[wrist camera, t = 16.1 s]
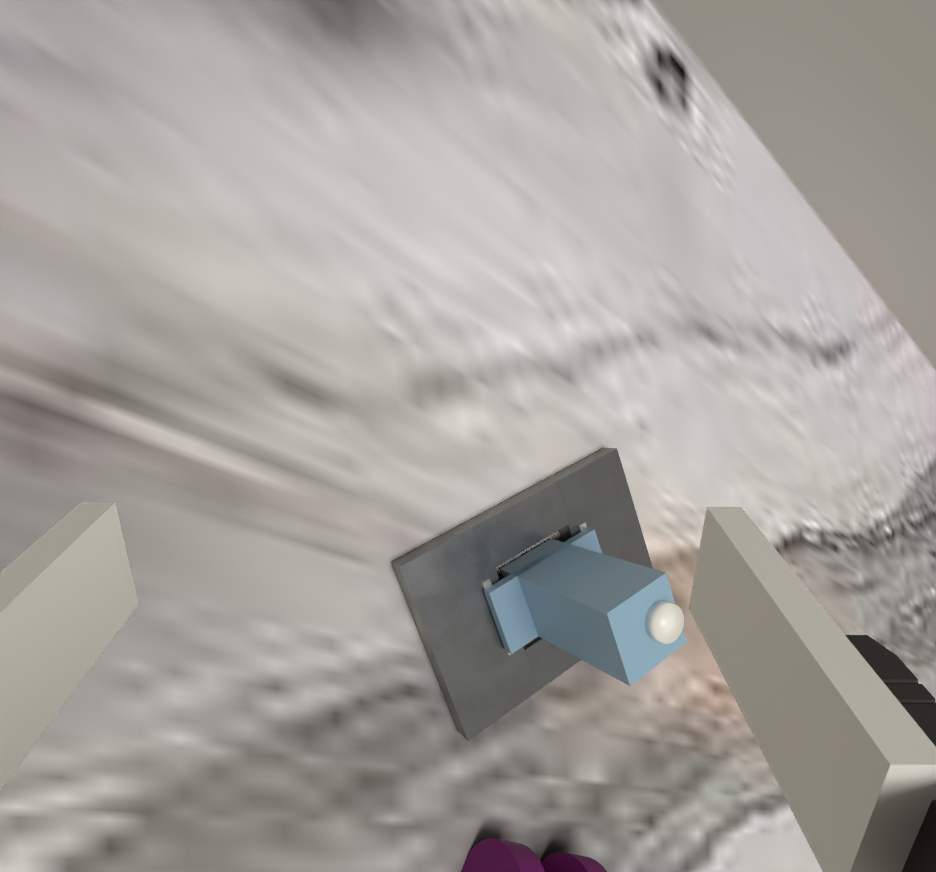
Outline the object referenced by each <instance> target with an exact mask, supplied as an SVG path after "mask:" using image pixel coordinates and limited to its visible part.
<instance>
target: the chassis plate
mask: <svg viewBox="0 0 936 872" xmlns="http://www.w3.org/2000/svg"><path fill="white" fill-rule="evenodd" d="M586 528H591V529H595V532H596V535H597V538H598V542H599V545H600V548H601V551H602V554H605V555H608V556H611V557H615V558H618V559H621V560H625V561H628V562H632V563H635V564H638V565H642V566H645V567H648V568H652V564H651V561H650V557H649V554H648V551H647V547H646V544H645V541H644V537H643V534H642V531H641V527H640V524H639V521H638V517H637V514H636V511H635V507H634V504H633V501H632V497H631V494H630V491H629V487H628V484H627V481H626V477H625V474H624V471H623V467H622V464H621V461H620V457H619V454H618V451H617V449H614V448H602V449H600V450H598V451H597V452H595V453H593V454H591V455H589V456H587V457H585V458H584V459H582V460H580V461H578V462H576V463H574V464H572V465H571V466H569V467H567V468H565V469H563V470H561V471H559V472H558V473H556V474H554V475H552V476H550V477H548V478H546V479H544V480H543V481H541V482H539V483H537V484H535V485H533V486H531V487H530V488H528V489H526V490H524V491H522V492H520V493H518V494H517V495H515V496H513V497H511V498H509V499H507V500H505V501H504V502H502V503H500V504H498V505H496V506H494V507H492V508H490V509H489V510H487V511H485V512H483V513H481V514H479V515H477V516H476V517H474V518H472V519H470V520H468V521H466V522H464V523H463V524H461V525H459V526H457V527H455V528H453V529H451V530H450V531H448V532H446V533H444V534H442V535H440V536H438V537H436V538H435V539H433V540H431V541H429V542H427V543H425V544H423V545H422V546H420V547H418V548H416V549H414V550H412V551H410V552H409V553H407V554H405V555H403V556H401V557H399V558H397V559H396V560H394V561H392V562H391V563H392V566H393V568H394V571H395V574H396V576H397V579H398V581H399V584H400V586H401V589H402V591H403V594H404V596H405V599H406V601H407V604H408V606H409V609H410V611H411V614H412V616H413V619H414V622H415V624H416V627H417V629H418V632H419V634H420V637H421V639H422V642H423V644H424V647H425V649H426V652H427V654H428V657H429V659H430V662H431V664H432V667H433V670H434V672H435V675H436V677H437V680H438V682H439V685H440V687H441V690H442V692H443V695H444V697H445V700H446V702H447V705H448V707H449V710H450V712H451V715H452V718H453V720H454V723H455V725H456V728H457V730H458V732H459V733H461V734H462V735H463V736H464V737H465V738H466V739H467V740H468V741H469V740H470V739H471V738H473V737H474V736H476V735H477V734H478V733H480V732H481V731H483V730H484V729H485V728H487V727H488V726H489V725H491V724H492V723H494V722H495V721H496V720H498V719H499V718H501V717H502V716H503V715H505V714H506V713H508V712H509V711H510V710H512V709H513V708H515V707H516V706H517V705H519V704H520V703H522V702H523V701H524V700H526V699H527V698H529V697H530V696H531V695H533V694H534V693H536V692H537V691H538V690H540V689H541V688H542V687H544V686H545V685H547V684H548V683H549V682H551V681H552V680H554V679H555V678H556V677H558V676H559V675H561V674H562V673H563V672H565V671H566V670H568V669H569V668H570V667H572V666H573V665H575V664H576V663H577V662H579V661H580V660H581V659H580V658H578V657H576V656H574V655H572V654H570V653H568V652H567V651H565V650H563V649H561V648H559V647H557V646H556V645H554V644H552V643H550V642H548V641H546V640H545V639H543V638H541V637H539V636H538V637H537V638H535V639H534V640H532V641H531V642H529V643H528V644H526V645H525V646H523V647H522V648H520V649H519V650H517V651H516V652H514V653H513V654H510V653H508V652H507V651H505V648H504V645H503V642H502V640H501V637H500V634H499V631H498V629H497V626H496V623H495V620H494V618H493V615H492V612H491V610H490V607H489V604H488V601H487V599H486V596H485V593H484V590H485V589H487V588H488V587H490V586H492V585H493V584H495V583H497V582H498V581H500V580H499V577H498V574H497V571H496V569H495V567H496V566H498V565H500V564H501V563H503V562H505V561H506V560H508V559H510V558H511V557H513V556H515V555H517V554H518V553H520V552H522V551H523V550H525V549H527V548H528V547H530V546H532V545H534V544H535V543H537V542H539V541H540V540H542V539H544V538H545V537H547V536H549V535H551V534H552V533H554V532H556V531H557V530H559V532H560V535H561V538H562V541H563V542H565V541H567V540H568V539H570V538H572V537H573V536H575V535H576V534H578V533H580V532H581V531H583V530H585V529H586ZM652 569H653V568H652Z"/></svg>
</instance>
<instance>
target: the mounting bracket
mask: <svg viewBox="0 0 936 872" xmlns="http://www.w3.org/2000/svg"><path fill="white" fill-rule="evenodd" d="M461 872H607V871H606V870H605V868H604V867H603V866H602V865H601V864H599V863H598V862H597V861H595V860H594V859H592V858H589V857H585V856H580V855H575V854H570V853H564V852H557V853H553V854H551V855H549V856H547V857H546V858H545V859H543V860H542V862H540V860H539V859H538V857H537V856H536V855H535V853H534V852H533V851H532V850H531V849H530V848H528V847H527V846H525V845H522V844H519V843H514V842H509V841H504V840H499V839H493V838H489V839H485V840H482V841H480V842H479V843H477V844H476V845H475V846H474V847H473V848H472V849H471V850H470V852H469V853H468V855H467V858H466V861H465V863H464V866H463V868H462V871H461Z"/></svg>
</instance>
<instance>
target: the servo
mask: <svg viewBox="0 0 936 872" xmlns="http://www.w3.org/2000/svg"><path fill="white" fill-rule="evenodd" d="M500 570H501V573H502V576H503V579H502V580H500V581H498V582H497V583H495V584H493V585H492V586H490V587H488V588H487V589H485V590H484V593H485V596H486V599H487V601H488V604H489V607H490V610H491V612H492V615H493V618H494V620H495V623H496V626H497V629H498V631H499V634H500V637H501V640H502V642H503V645H504V648H505V651H507V652H508V653H510V654H513V653H514V652H516V651H517V650H519V649H520V648H522V647H523V646H525V645H526V644H528V643H529V642H531V641H532V640H534V639H535V638H537V637H538V636H539V637H541V638H543V639H545V640H546V641H548V642H550V643H552V644H554V645H556V646H557V647H559V648H561V649H563V650H565V651H567V652H568V653H570V654H572V655H574V656H576V657H578V658H580V659H581V660H583V661H585V662H587V663H589V664H591V665H592V666H594V667H596V668H598V669H600V670H602V671H603V672H605V673H607V674H609V675H611V676H613V677H615V678H616V679H618V680H620V681H622V682H624V683H626V684H627V685H629V686H631V685H632V684H633V683H635V682H636V681H637V680H638V679H640V678H641V677H642V676H644V675H645V674H646V673H648V672H649V671H650V670H651V669H653V668H654V667H655V666H657V665H658V664H659V663H660V662H662V661H663V660H664V659H666V658H667V657H668V656H669V655H671V654H672V653H673V652H675V651H676V650H677V649H679V648H680V647H681V646H682V645H684V644H685V643H686V639H685V636H684V632H683V625H684V616H683V613H682V610H681V609H680V608H679V607H678V606H677V605H675V602H674V598H673V595H672V592H671V588H670V585H669V581H668V578H667V575H666V573H665V572H662V571H659V570H655V569H652V568H648V567H645V566H642V565H638V564H635V563H632V562H628V561H625V560H621V559H618V558H615V557H611V556H608V555H605V554H602V551H601V548H600V545H599V542H598V538H597V535H596V532H595V529H591V528H586V529H585V530H583V531H581V532H580V533H578V534H576V535H575V536H573V537H572V538H570V539H568V540H567V541H565V542H561V541H558V540H554V539H550V540H548V541H546V542H545V543H543V544H541V545H539V546H538V547H536V548H534V549H533V550H531V551H529V552H528V553H526V554H524V555H523V556H521V557H519V558H518V559H516V560H514V561H512V562H511V563H509V564H507V565H506V566H504V567H502V568H501V569H500Z"/></svg>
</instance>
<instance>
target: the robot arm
mask: <svg viewBox="0 0 936 872" xmlns="http://www.w3.org/2000/svg"><path fill="white" fill-rule="evenodd" d="M138 605H139V602H138V598H137V594H136V590H135V585H134V581H133V577H132V572H131V568H130V564H129V559H128V555H127V551H126V546H125V542H124V538H123V534H122V529H121V525H120V521H119V516H118V512H117V508H116V503H115V502H80V503H79V504H78V505H76V506H75V507H74V508H73V509H72V510H71V511H70V512H68V513H67V514H66V515H65V516H64V517H63V518H61V519H60V520H59V521H58V522H57V523H56V524H55V525H53V526H52V527H51V528H50V529H49V530H48V531H47V532H45V533H44V534H43V535H42V536H41V537H40V538H39V539H37V540H36V541H35V542H34V543H33V544H32V545H31V546H29V547H28V548H27V549H26V550H25V551H24V552H23V553H21V554H20V555H19V556H18V557H17V558H16V559H15V560H13V561H12V562H11V563H10V564H9V565H8V566H7V567H5V568H4V569H3V570H2V571H1V572H0V790H1V789H2V788H3V786H4V785H5V784H6V782H7V781H8V780H9V778H10V777H11V776H12V774H13V773H14V771H15V770H16V769H17V767H18V766H19V765H20V763H21V762H22V761H23V759H24V758H25V757H26V755H27V754H28V753H29V751H30V750H31V749H32V747H33V746H34V745H35V743H36V742H37V741H38V739H39V738H40V737H41V735H42V734H43V733H44V731H45V730H46V728H47V727H48V726H49V724H50V723H51V722H52V720H53V719H54V718H55V716H56V715H57V714H58V712H59V711H60V710H61V708H62V707H63V706H64V704H65V703H66V702H67V700H68V699H69V698H70V696H71V695H72V694H73V692H74V691H75V690H76V688H77V687H78V685H79V684H80V683H81V681H82V680H83V679H84V677H85V676H86V675H87V673H88V672H89V671H90V669H91V668H92V667H93V665H94V664H95V663H96V661H97V660H98V659H99V657H100V656H101V655H102V653H103V652H104V651H105V649H106V648H107V646H108V645H109V644H110V642H111V641H112V640H113V638H114V637H115V636H116V634H117V633H118V632H119V630H120V629H121V628H122V626H123V625H124V624H125V622H126V621H127V620H128V618H129V617H130V616H131V614H132V613H133V612H134V610H135V609H136V608H137V606H138ZM689 609H690V611H691V613H692V615H693V617H694V619H695V621H696V623H697V625H698V627H699V629H700V631H701V633H702V635H703V637H704V639H705V641H706V643H707V645H708V647H709V649H710V651H711V652H712V654H713V656H714V658H715V660H716V662H717V664H718V666H719V668H720V670H721V672H722V674H723V676H724V678H725V680H726V682H727V684H728V686H729V688H730V690H731V692H732V694H733V696H734V698H735V700H736V702H737V704H738V706H739V708H740V710H741V712H742V713H743V715H744V717H745V719H746V721H747V723H748V725H749V727H750V729H751V731H752V733H753V735H754V737H755V739H756V741H757V743H758V745H759V747H760V749H761V751H762V753H763V755H764V757H765V759H766V761H767V763H768V765H769V767H770V769H771V771H772V773H773V775H774V776H775V778H776V780H777V782H778V784H779V786H780V788H781V790H782V792H783V794H784V796H785V798H786V800H787V802H788V804H789V806H790V808H791V810H792V812H793V814H794V816H795V818H796V820H797V822H798V824H799V826H800V828H801V830H802V832H803V834H804V836H805V837H806V839H807V841H808V843H809V845H810V847H811V849H812V851H813V853H814V855H815V857H816V859H817V861H818V863H819V865H820V867H821V869H822V871H823V872H936V702H935V698H934V697H933V696H932V695H931V694H930V693H929V692H928V690H927V689H926V688H925V687H924V686H923V685H922V684H919V683H918V679H917V678H916V677H915V676H914V675H913V673H912V672H911V671H910V670H909V669H908V668H907V667H906V666H905V664H904V663H903V662H902V661H901V660H900V659H899V658H898V656H897V655H895V654H894V653H892V652H891V651H889V650H888V649H886V648H885V647H884V646H882V645H881V644H879V643H878V642H876V641H875V640H873V639H872V638H871V637H869V636H868V635H845V634H844V633H843V632H842V631H841V629H840V628H839V627H838V626H837V625H836V623H835V622H834V621H833V620H832V618H831V617H830V616H829V615H828V613H827V612H826V611H825V610H824V609H823V607H822V606H821V605H820V604H819V602H818V601H817V600H816V599H815V597H814V596H813V595H812V594H811V593H810V591H809V590H808V589H807V588H806V586H805V585H804V584H803V583H802V581H801V580H800V579H799V578H798V577H797V575H796V574H795V573H794V572H793V570H792V569H791V568H790V567H789V565H788V564H787V563H786V562H785V561H784V559H783V558H782V557H781V556H780V554H779V553H778V552H777V551H776V549H775V548H774V547H773V546H772V545H771V543H770V542H769V541H768V540H767V538H766V537H765V536H764V535H763V533H762V532H761V531H760V530H759V529H758V527H757V526H756V525H755V524H754V522H753V521H752V520H751V519H750V517H749V516H748V515H747V514H746V513H745V511H744V510H743V509H742V508H741V507H707V510H706V515H705V521H704V526H703V532H702V537H701V543H700V548H699V554H698V560H697V565H696V571H695V576H694V582H693V587H692V593H691V598H690V604H689Z"/></svg>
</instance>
